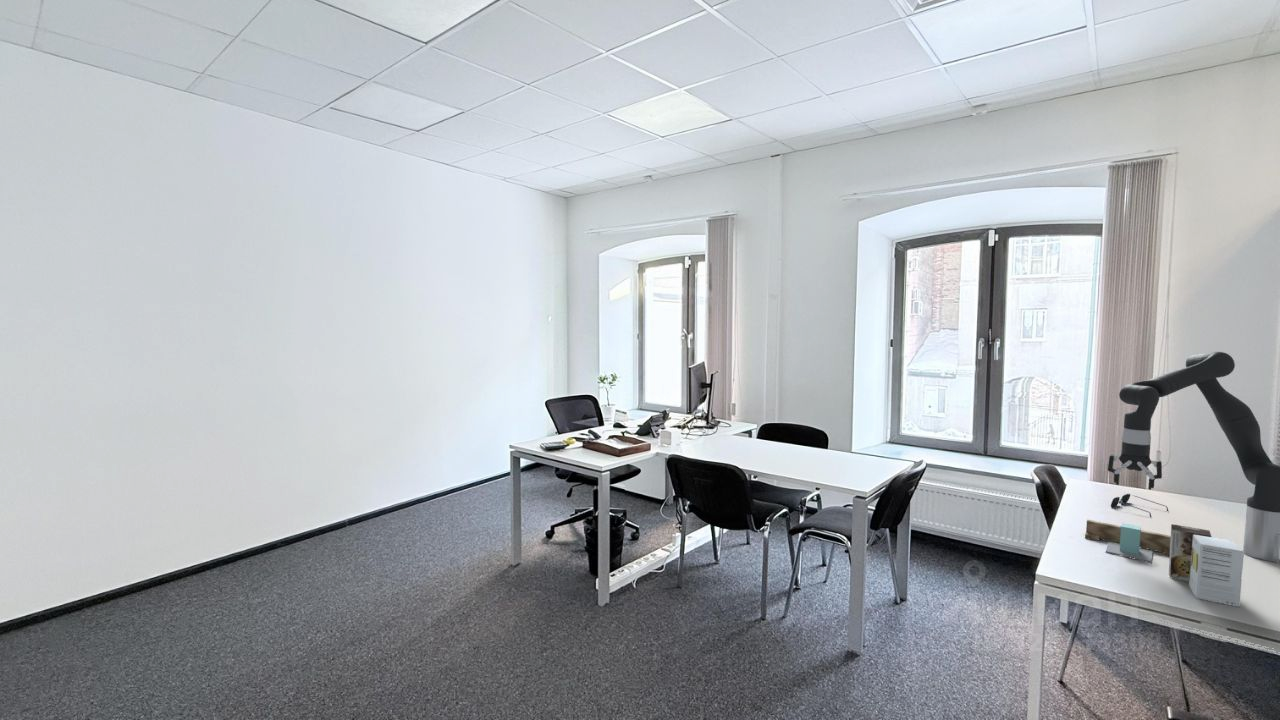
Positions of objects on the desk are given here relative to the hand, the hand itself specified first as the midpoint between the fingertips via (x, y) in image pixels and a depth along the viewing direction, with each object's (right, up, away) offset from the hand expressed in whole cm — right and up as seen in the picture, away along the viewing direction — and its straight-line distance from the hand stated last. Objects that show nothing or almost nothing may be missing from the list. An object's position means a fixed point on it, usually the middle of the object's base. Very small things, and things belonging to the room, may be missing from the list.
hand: (1133, 486), depth 196 cm
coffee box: (+1, -26, -18) cm, 31 cm away
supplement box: (-3, -26, -30) cm, 40 cm away
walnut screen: (+7, -24, +9) cm, 26 cm away
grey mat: (0, -24, +2) cm, 24 cm away
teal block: (0, -23, +1) cm, 23 cm away
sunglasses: (+46, -22, +48) cm, 70 cm away
